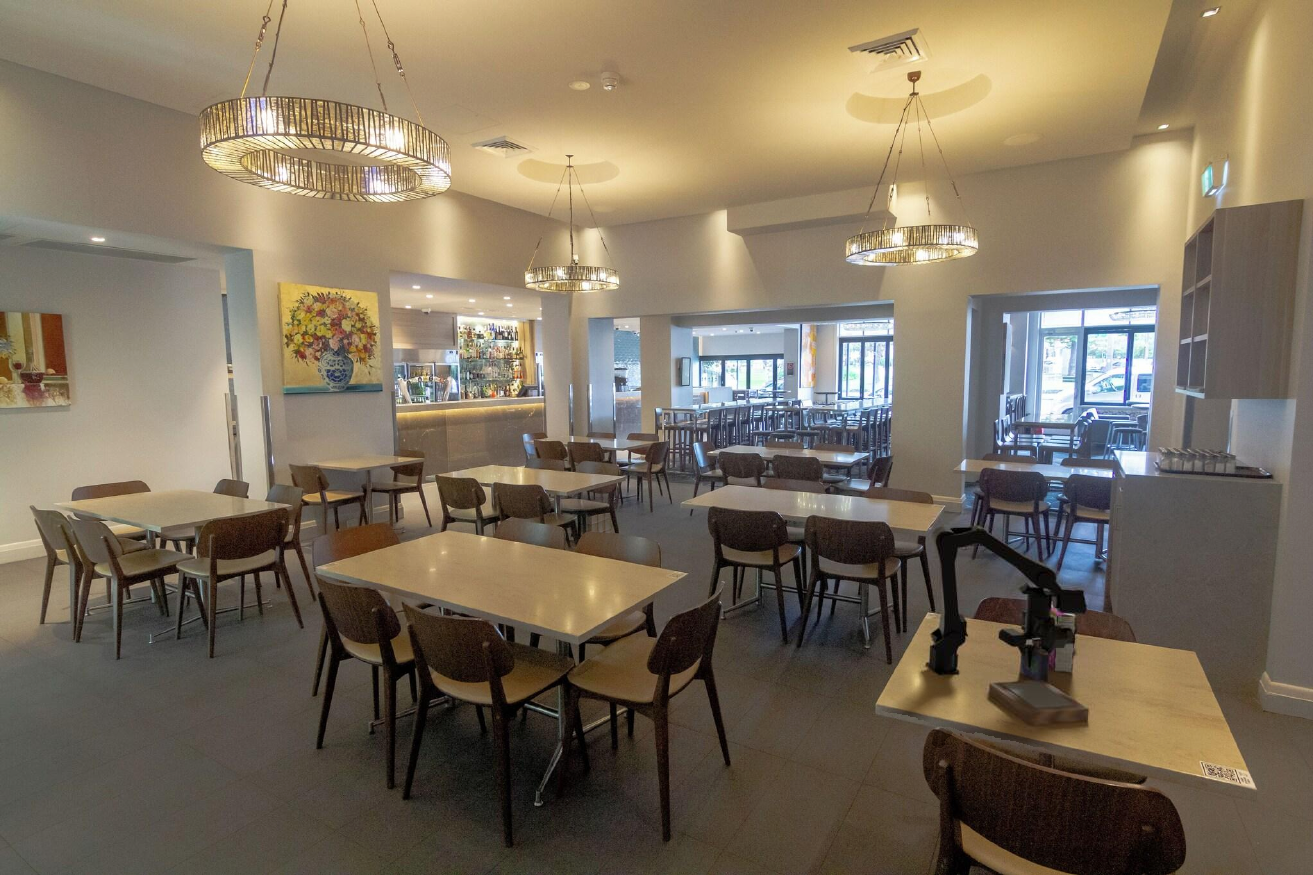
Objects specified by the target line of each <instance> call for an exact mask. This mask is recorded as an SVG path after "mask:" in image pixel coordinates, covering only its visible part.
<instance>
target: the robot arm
mask: <svg viewBox="0 0 1313 875" xmlns="http://www.w3.org/2000/svg"><path fill="white" fill-rule="evenodd" d="M931 539H932V542H933V546H934V550H935V553H936V555H937V556H936V557H937V559H938V566H939V568H938V570H939V581H940V594H941V605H942V606H941V609H942V610H941V613H940V616H939V617H940V618H939V625H938V626H939V627H938V628H936V629H934V630H933V631H932V632H930V638H931V640H932V643H933V644H932V645H929V659H928V662H925V665H926V666H927V667H928V668H929V669H931V670H932V671H933V672H935V674H937V675H948V674H950V675H951V674H960V670H959V669H958V665H959V662H958V661H959V653H958V650H959V647H960V646H961V647H962V645H963V644H965V643H966V640H967V638H966V637H969V634H968V631H967V627H968V626H967V625H968V622H967V619H966V617H965V616H964V614H960V613H959V601H958V587H957V586H958V585H957V576H956V575H957V574H956V560H957V555H958V552H959V550H958V549H959V548H965V547H969V546H972V545H977V544H979V545H981V546H983V547H984V548H986V549H988V550H989V551H990V552H992V553H993V554H995V555H996V556H998V557H999V558H1000V559H1002V560H1004V561H1005V562H1007V563H1008V564H1010V565H1011V566H1014V568H1016V569H1017V570H1018V571H1019V572H1021V574H1023V575H1024V576H1025V578H1027V579H1028V581H1030V582H1031V583H1032V584H1033V585H1034V586H1031V585H1030V584H1028V583H1027V582H1025V583H1024V584H1023V585H1022V586H1019V587H1018V590H1019V591H1020V593H1021V594H1022V595H1026V608H1025V609H1026V611H1025V610H1022V613H1021V614H1022V616H1023V615H1025V616H1026V620H1025V625H1022V624H1021V628H1020V629H1021V630H1022V631H1023V630H1024V631H1025V633H1024V631H1023V632H1021V631H1019V630H1017V629H1014V628H1012V627H1011V628H1001V629H1000V630H999V631H998V640H1000V641H1002V642H1003V643H1006V645H1008V646H1010V647H1014V648H1018V650H1019V652H1020V656H1021V655H1022V658H1023V660H1024V662H1025V665H1026V667H1028V668H1030V666H1031V659H1032V650H1034V649H1035V648H1036V647H1035V646H1033V645H1032V644H1033V643H1032V641H1034V640H1037V641H1040V642H1041V643H1040V642H1039V645H1040V646H1041V647H1042V648H1041V649H1044V650H1045V651H1046V652H1047V653H1049V655H1050V654H1051V652H1052V651H1053V649H1055V648H1064V647H1065V645H1066V644H1074V645H1075V644H1076V635H1074V633H1073V630H1072V629H1071V628H1069V627H1067V628H1064V627H1062V626H1055V620H1054V617H1052V616H1051V605H1053V608H1055V609H1057V611H1058V612H1059V613H1067V614H1074V615H1079V616H1080V615H1081V616H1084V615H1086V612H1087V606H1088V605H1087V602H1086V601H1087V600H1086V597H1085V595H1084V593H1085V591H1084V589H1083V588H1081V587H1063V586H1061V585H1060V584H1059V583H1058V582H1057V575H1056V573H1055V571H1053V570H1052V569H1051V568H1050V567H1049V566H1048V565H1047V564H1046V563H1045V562H1042V561H1039V560H1037V559H1036V558H1033V557H1030V556H1028V555H1025V554H1022V553H1021V552H1019V551H1018V550H1016V549H1014V548H1013V547H1011V546H1010V545H1009V544H1007V543H1005V542H1004V541H1002V540H1001V539H999V538H998V537H996V536H995V535H993V534H991V533H990V532H988V531H987V530H986V529H984V527H983V526H981V525H973V526H972V525H971V526H960V527H959V526H956V527H947V526H944V525H943V526H938V527H936V528H935V529H934V530H933V531H932V533H931ZM1044 589H1046V590H1044Z"/></svg>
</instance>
